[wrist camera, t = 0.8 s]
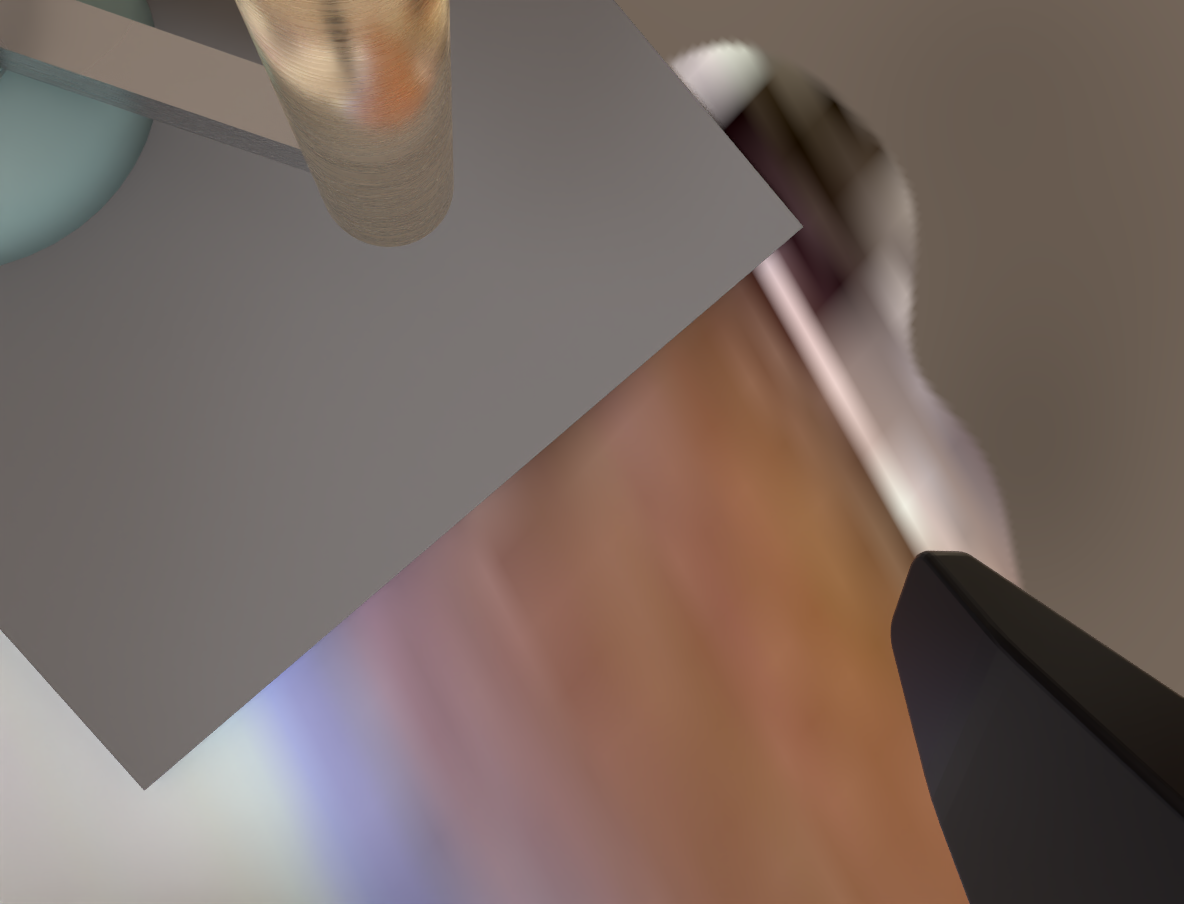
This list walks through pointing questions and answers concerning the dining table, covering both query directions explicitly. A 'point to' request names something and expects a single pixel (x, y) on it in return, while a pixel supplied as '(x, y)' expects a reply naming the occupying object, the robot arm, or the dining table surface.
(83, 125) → the teal round piece
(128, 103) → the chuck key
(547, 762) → the dining table surface
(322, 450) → the mat
